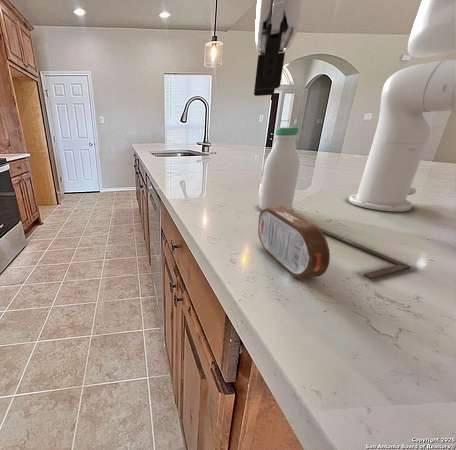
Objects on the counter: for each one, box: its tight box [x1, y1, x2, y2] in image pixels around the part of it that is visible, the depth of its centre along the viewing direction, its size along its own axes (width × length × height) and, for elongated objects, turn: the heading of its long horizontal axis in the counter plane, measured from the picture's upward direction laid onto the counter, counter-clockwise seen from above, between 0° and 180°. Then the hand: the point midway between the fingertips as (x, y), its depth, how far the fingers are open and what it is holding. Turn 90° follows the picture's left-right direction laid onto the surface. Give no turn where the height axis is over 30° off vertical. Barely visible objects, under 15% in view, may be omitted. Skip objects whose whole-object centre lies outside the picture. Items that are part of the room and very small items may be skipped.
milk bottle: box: [258, 126, 300, 211], centre depth 60 cm, size 8×8×20 cm
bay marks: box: [318, 227, 412, 280], centre depth 46 cm, size 8×21×1 cm, turn 17°
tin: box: [257, 206, 331, 279], centre depth 39 cm, size 15×3×8 cm, turn 5°
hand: (265, 92), depth 38 cm, fingers open, 9 cm apart
